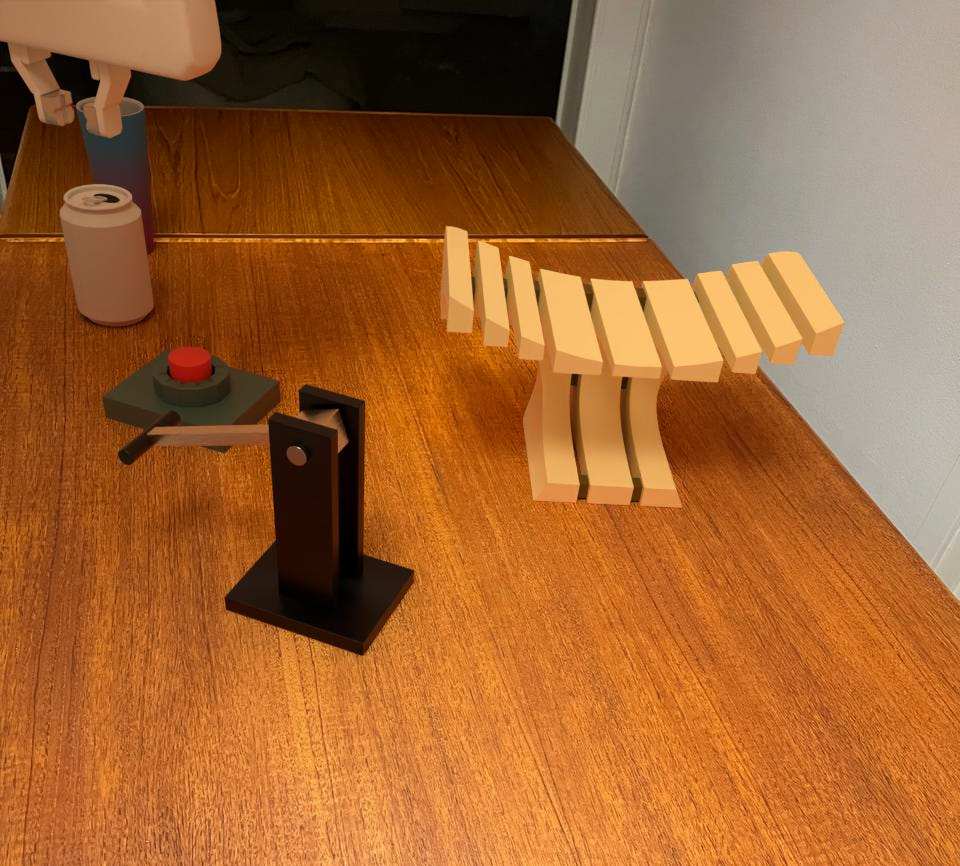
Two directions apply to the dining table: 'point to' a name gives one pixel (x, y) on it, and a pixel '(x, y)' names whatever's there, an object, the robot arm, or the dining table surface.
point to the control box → (192, 397)
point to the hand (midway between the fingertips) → (81, 128)
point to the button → (190, 364)
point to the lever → (217, 433)
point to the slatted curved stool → (627, 355)
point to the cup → (123, 159)
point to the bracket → (320, 535)
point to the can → (107, 254)
